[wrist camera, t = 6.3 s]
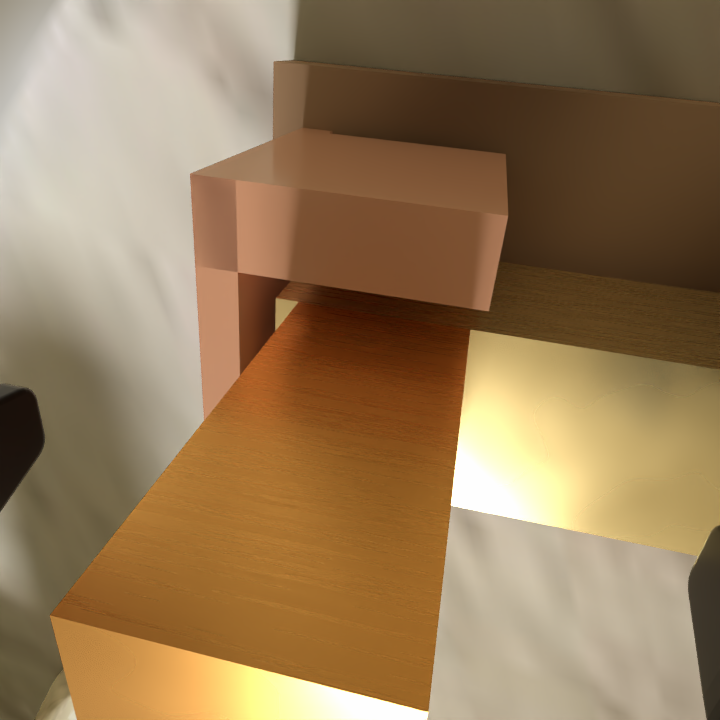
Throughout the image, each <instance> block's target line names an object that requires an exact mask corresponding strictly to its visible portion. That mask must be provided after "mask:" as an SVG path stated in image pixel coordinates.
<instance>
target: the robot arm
mask: <svg viewBox="0 0 720 720" xmlns="http://www.w3.org/2000/svg"><path fill="white" fill-rule="evenodd" d="M44 443H45V434H44V429H43V425H42V420H41V415H40V411H39V406H38V402H37V398H36V395H35V394H34V393H33V391H32V390H30V389H28V388H25V387H20V386H15V385H10V384H0V512H1V510H2V509H3V508H4V506H5V505H6V503H7V502H8V500H9V499H10V497H11V496H12V494H13V493H14V492H15V490H16V489H17V487H18V486H19V484H20V483H21V481H22V480H23V478H24V477H25V476H26V474H27V473H28V471H29V470H30V468H31V467H32V465H33V464H34V462H35V461H36V460H37V458H38V457H39V455H40V454H41V452H42V449H43V447H44ZM688 593H689V601H690V608H691V615H692V622H693V629H694V636H695V643H696V651H697V658H698V665H699V672H700V679H701V686H702V693H703V700H704V706H705V712H706V718H707V720H720V525H718V526H716V527H715V528H713V529H712V531H711V532H710V534H709V536H708V538H707V540H706V542H705V544H704V546H703V548H702V550H701V552H700V554H699V556H698V558H697V560H696V562H695V564H694V566H693V568H692V570H691V572H690V576H689V581H688Z"/></svg>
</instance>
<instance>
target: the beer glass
mask: <svg viewBox="0 0 720 720" xmlns="http://www.w3.org/2000/svg"><path fill="white" fill-rule="evenodd" d="M34 720H77V718H76V715H75V711H74V707H73V703H72V699H71V695H70V692H69V688H68V684H67V680H66V676H65V672H64V670H63V671H61V672H60V673H59V674H58V676H57V677H56V679H55V680H54V682H53V683H52V685H51V687H50V689H49V691H48V693H47V695H46V697H45V699H44V701H43V703H42V705H41V707H40V709H39V711H38V713H37V715H36V717H35V719H34Z"/></svg>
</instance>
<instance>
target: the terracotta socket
mask: <svg viewBox="0 0 720 720" xmlns="http://www.w3.org/2000/svg"><path fill="white" fill-rule="evenodd" d="M332 132H333V131H327V130H318V129H309V128H301V129H298V130H296V131H293V132H291V133H288V134H286V135H284V136H281V137H279V138H276V139H274V140H271V141H269V142H267V143H264V144H262V145H259V146H257V147H254V148H252V149H249V150H247V151H245V152H242V153H240V154H237V155H235V156H232V157H230V158H228V159H225V160H223V161H220V162H218V163H215V164H213V165H210V166H208V167H206V168H203V169H201V170H198V171H196V172H193V173H191V174H190V180H191V198H192V215H193V233H194V250H195V268H196V286H197V303H198V321H199V338H200V356H201V373H202V391H203V408H204V420H205V419H206V418H207V417H208V415H209V414H210V413H211V412H212V410H213V409H214V408H215V406H216V405H217V404H218V403H219V401H220V400H221V399H222V398H223V396H224V395H225V394H226V393H227V391H228V390H229V389H230V388H231V386H232V385H233V384H234V383H235V381H236V380H237V379H238V378H239V376H240V375H241V374H242V372H243V371H244V370H245V369H246V367H247V366H248V365H249V364H250V362H251V361H252V360H253V359H254V357H255V356H256V355H257V354H258V352H259V351H260V350H261V349H262V347H263V346H264V345H265V344H266V342H267V341H268V340H269V338H270V337H271V336H272V335H273V333H274V332H275V314H276V297H277V296H278V295H279V294H280V293H281V292H282V291H283V289H284V288H285V287H286V286H287V285H288V284H289V283H290V282H291V281H297V282H303V283H309V284H316V285H322V286H329V287H335V288H341V289H348V290H354V291H361V292H367V293H373V294H380V295H386V296H393V297H399V298H405V299H412V300H418V301H425V302H431V303H437V304H444V305H450V306H457V307H463V308H470V309H476V310H482V311H489V308H490V303H491V298H492V293H493V288H494V284H495V279H496V274H497V269H498V264H499V259H500V254H501V249H502V244H503V239H504V234H505V229H506V224H507V219H508V198H507V172H506V154H501V153H493V152H484V151H476V150H467V149H459V148H450V147H442V146H433V145H425V144H416V143H408V142H399V141H391V140H382V139H374V138H365V137H357V136H348V135H340V134H332Z"/></svg>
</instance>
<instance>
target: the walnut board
mask: <svg viewBox="0 0 720 720" xmlns="http://www.w3.org/2000/svg"><path fill="white" fill-rule="evenodd" d="M301 128H309V129H318V130H327V131H333V132H332V134H340V135H348V136H357V137H365V138H374V139H382V140H391V141H399V142H408V143H416V144H425V145H433V146H442V147H450V148H459V149H467V150H476V151H484V152H493V153H501V154H506V172H507V198H508V219H507V224H506V229H505V234H504V239H503V244H502V249H501V254H500V259H499V262H506V263H513V264H520V265H527V266H534V267H541V268H548V269H555V270H562V271H569V272H576V273H583V274H590V275H597V276H604V277H611V278H618V279H625V280H632V281H639V282H646V283H653V284H660V285H666V286H673V287H680V288H687V289H694V290H701V291H708V292H715V293H720V103H716V102H706V101H696V100H686V99H676V98H666V97H656V96H646V95H636V94H626V93H616V92H606V91H596V90H586V89H576V88H566V87H556V86H546V85H536V84H526V83H516V82H506V81H496V80H486V79H476V78H466V77H456V76H446V75H436V74H426V73H416V72H406V71H396V70H386V69H376V68H366V67H356V66H346V65H336V64H326V63H316V62H306V61H296V60H289V61H274V83H273V140H274V139H276V138H279V137H281V136H284V135H286V134H288V133H291V132H293V131H296V130H298V129H301Z"/></svg>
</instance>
